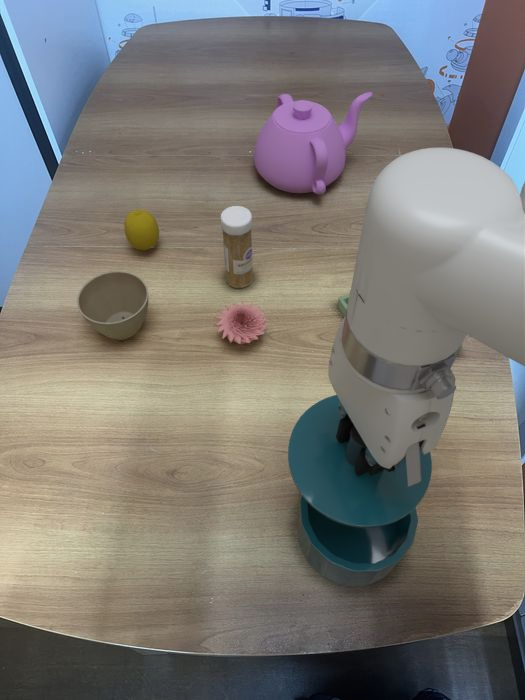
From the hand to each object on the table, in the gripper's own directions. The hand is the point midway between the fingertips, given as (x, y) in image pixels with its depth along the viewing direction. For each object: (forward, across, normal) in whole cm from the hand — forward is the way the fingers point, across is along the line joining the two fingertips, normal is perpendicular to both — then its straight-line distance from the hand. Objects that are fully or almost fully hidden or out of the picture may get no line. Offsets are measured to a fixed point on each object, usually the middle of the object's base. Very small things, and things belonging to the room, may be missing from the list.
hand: (361, 450), depth 51 cm
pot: (+19, -2, 0) cm, 19 cm away
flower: (+19, +30, +1) cm, 35 cm away
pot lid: (+1, 0, 0) cm, 1 cm away
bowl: (+19, +39, +17) cm, 46 cm away
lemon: (+19, +54, +9) cm, 58 cm away
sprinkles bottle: (+19, +41, -3) cm, 45 cm away
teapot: (+19, +62, -26) cm, 70 cm away
